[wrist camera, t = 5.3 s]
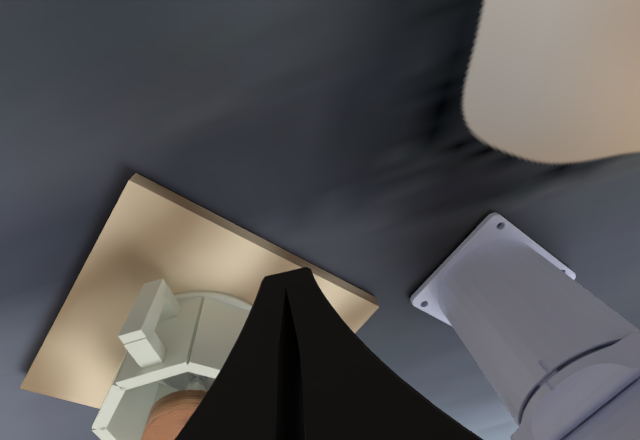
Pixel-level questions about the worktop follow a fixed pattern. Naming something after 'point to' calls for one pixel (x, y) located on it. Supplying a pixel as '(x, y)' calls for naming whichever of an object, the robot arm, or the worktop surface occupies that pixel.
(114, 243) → the serving board
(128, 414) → the faceted mug
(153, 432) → the plunger
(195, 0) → the worktop surface
